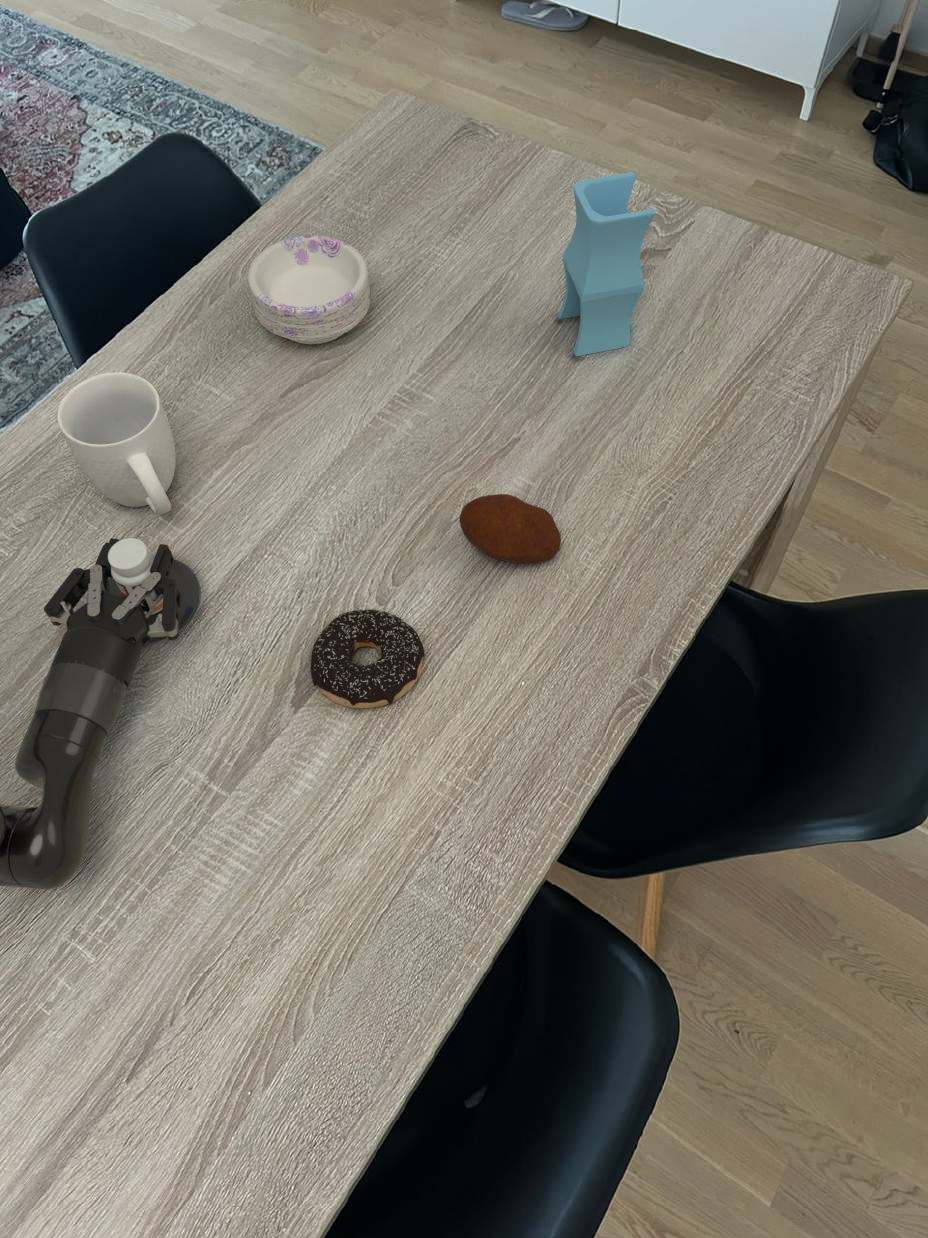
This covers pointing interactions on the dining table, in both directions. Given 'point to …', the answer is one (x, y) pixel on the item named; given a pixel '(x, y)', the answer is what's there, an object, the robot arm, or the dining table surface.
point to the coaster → (187, 588)
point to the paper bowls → (309, 288)
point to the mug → (121, 438)
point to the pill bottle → (131, 566)
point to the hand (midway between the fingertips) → (141, 546)
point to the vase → (604, 263)
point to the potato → (510, 529)
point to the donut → (366, 681)
